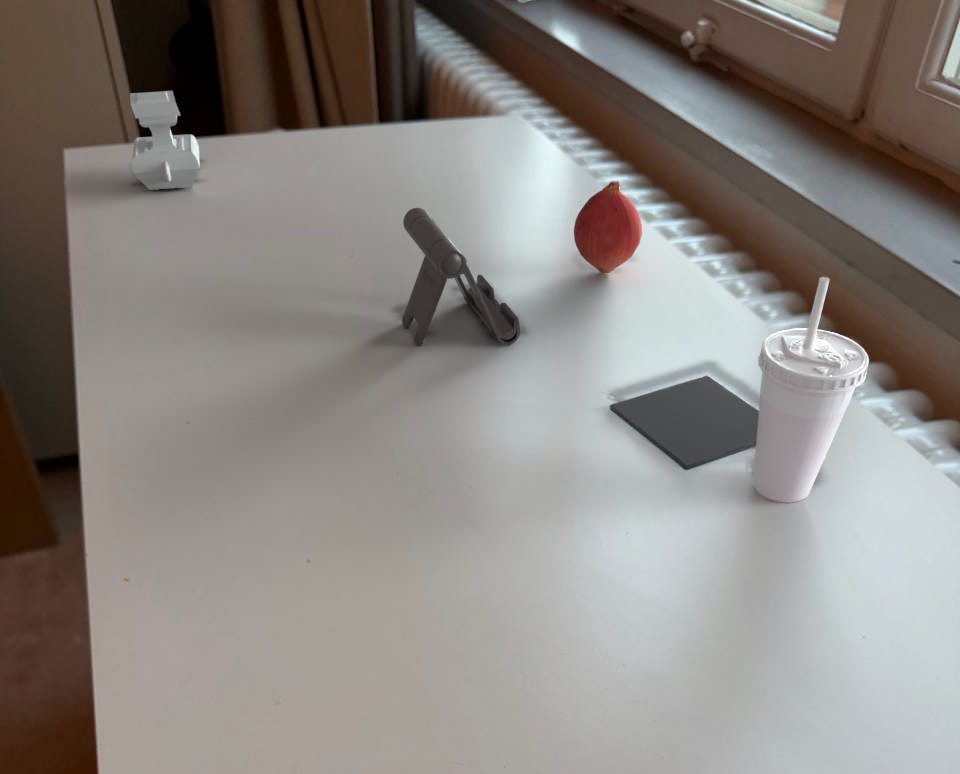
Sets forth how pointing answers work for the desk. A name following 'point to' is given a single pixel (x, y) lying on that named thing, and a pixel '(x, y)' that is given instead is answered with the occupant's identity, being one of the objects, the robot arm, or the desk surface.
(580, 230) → the onion
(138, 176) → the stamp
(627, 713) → the desk surface
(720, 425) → the coaster
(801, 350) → the smoothie
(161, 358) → the desk surface
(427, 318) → the tablet stand
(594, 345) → the desk surface
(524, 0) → the robot arm
